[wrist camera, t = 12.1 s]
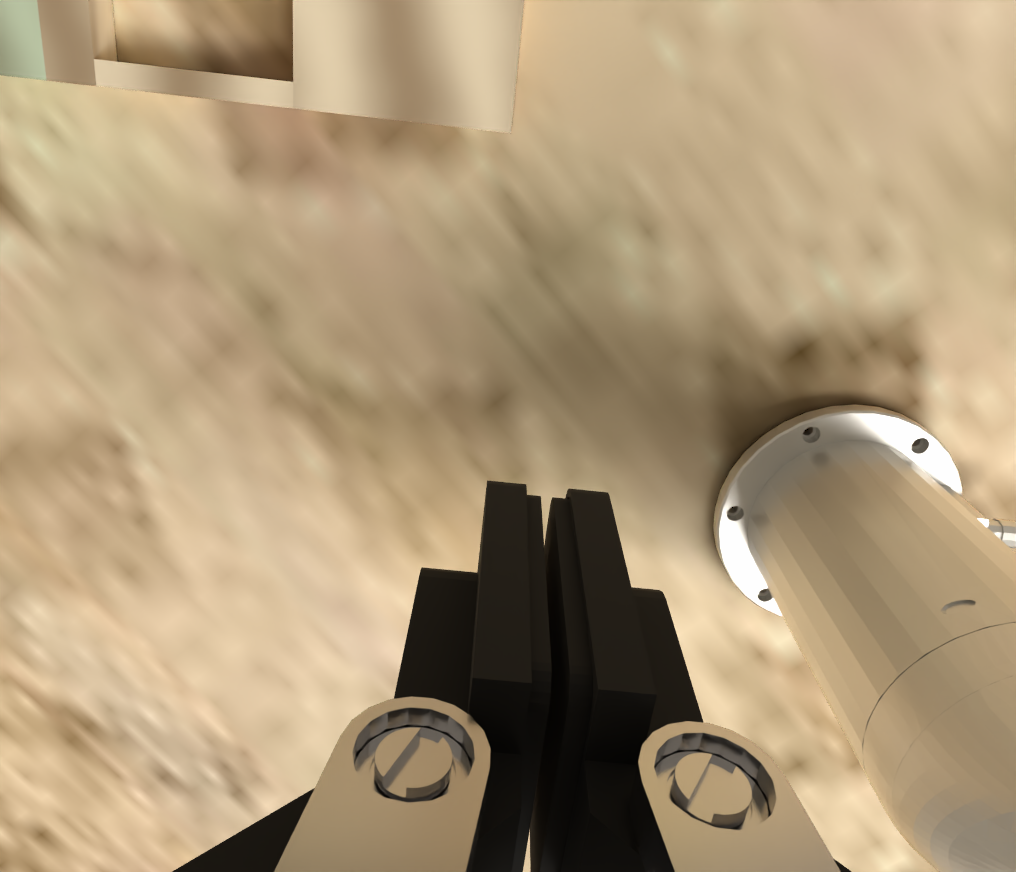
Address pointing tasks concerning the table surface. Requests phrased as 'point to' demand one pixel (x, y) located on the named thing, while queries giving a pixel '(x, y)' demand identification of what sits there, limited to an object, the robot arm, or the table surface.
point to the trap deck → (306, 58)
